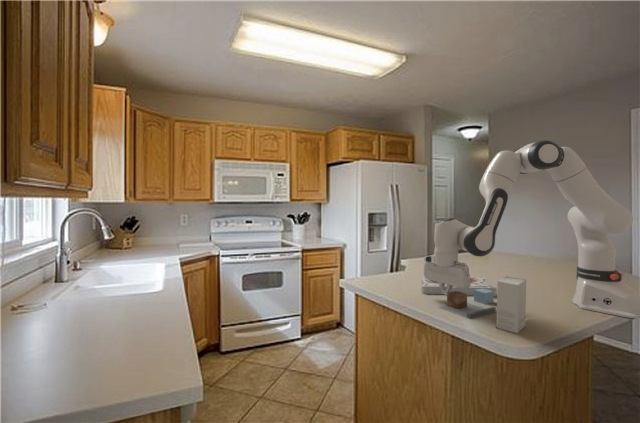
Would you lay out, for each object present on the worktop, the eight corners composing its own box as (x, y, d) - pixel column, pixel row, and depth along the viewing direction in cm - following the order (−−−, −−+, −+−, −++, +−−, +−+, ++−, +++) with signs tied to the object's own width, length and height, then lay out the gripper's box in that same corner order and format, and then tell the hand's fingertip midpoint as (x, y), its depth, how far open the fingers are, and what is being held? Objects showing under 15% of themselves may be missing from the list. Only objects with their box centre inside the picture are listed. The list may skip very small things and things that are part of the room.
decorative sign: (499, 297, 143) (474, 280, 172) (500, 288, 142) (474, 272, 172) (422, 296, 146) (410, 279, 176) (422, 287, 146) (410, 271, 175)
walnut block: (467, 307, 128) (467, 293, 128) (457, 309, 126) (458, 295, 126) (456, 303, 133) (456, 290, 132) (447, 305, 130) (447, 292, 130)
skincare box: (505, 321, 115) (505, 275, 114) (527, 326, 110) (527, 279, 109) (495, 328, 109) (496, 280, 108) (518, 334, 104) (519, 283, 104)
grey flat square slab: (495, 313, 123) (495, 307, 123) (469, 320, 116) (469, 314, 116) (463, 302, 135) (463, 297, 135) (437, 308, 129) (437, 303, 129)
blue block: (493, 303, 134) (493, 291, 134) (485, 305, 132) (485, 293, 131) (482, 300, 138) (482, 288, 138) (473, 302, 136) (474, 290, 136)
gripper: (474, 263, 126) (474, 300, 126) (432, 255, 144) (432, 287, 144) (462, 264, 123) (462, 302, 123) (421, 256, 141) (421, 289, 141)
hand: (446, 294), depth 134 cm, fingers closed
